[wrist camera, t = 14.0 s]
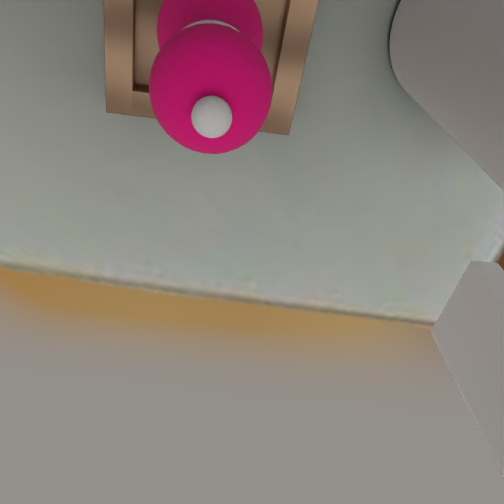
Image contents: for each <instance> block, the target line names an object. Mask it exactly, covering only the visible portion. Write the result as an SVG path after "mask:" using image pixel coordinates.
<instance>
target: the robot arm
mask: <svg viewBox="0 0 504 504" xmlns="http://www.w3.org/2000/svg"><path fill="white" fill-rule="evenodd" d="M431 334H432V337H433V338H434V340H435V342H436V344H437V346H438V348H439V350H440V352H441V354H442V356H443V358H444V360H445V362H446V364H447V366H448V368H449V370H450V372H451V374H452V376H453V378H454V380H455V382H456V384H457V386H458V388H459V390H460V392H461V394H462V396H463V398H464V400H465V402H466V404H467V406H468V408H469V410H470V412H471V414H472V416H473V418H474V420H475V422H476V424H477V426H478V427H479V430H480V432H481V434H482V436H483V438H484V440H485V442H486V444H487V446H488V448H489V450H490V452H491V454H492V455H493V458H494V460H495V462H496V463H497V465H498V467H499V469H500V471H501V473H502V475H503V477H504V271H503V269H502V268H501V267H500V266H499V264H498V263H493V262H481V261H471V262H470V264H469V265H468V267H467V269H466V271H465V272H464V274H463V276H462V278H461V279H460V281H459V283H458V285H457V287H456V288H455V290H454V292H453V294H452V295H451V297H450V299H449V301H448V302H447V304H446V306H445V308H444V309H443V311H442V313H441V315H440V316H439V318H438V320H437V322H436V324H435V325H434V327H433V329H432V331H431Z"/></svg>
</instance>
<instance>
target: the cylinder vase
mask: <svg viewBox="0 0 504 504" xmlns="http://www.w3.org/2000/svg"><path fill="white" fill-rule="evenodd" d="M390 59H391V64H392V68H393V71H394V73H395V76H396V78H397V80H398V82H399V83H400V85H401V86H402V87H403V89H404V90H405V91H406V92H407V93H408V94H409V95H410V96H411V97H412V98H413V99H414V100H415V101H416V102H417V103H418V104H419V105H420V106H421V107H422V108H423V109H424V110H425V111H426V112H427V113H428V114H429V116H430V117H431V118H432V119H433V120H434V121H435V122H436V123H437V124H438V125H439V126H440V127H441V128H442V129H443V130H444V131H445V132H446V133H447V134H448V135H449V136H450V137H451V138H452V139H453V140H454V141H455V142H456V143H457V144H458V145H459V146H460V147H461V148H462V149H463V150H464V151H465V152H466V153H467V154H468V155H469V156H470V157H471V158H472V159H473V160H474V161H475V162H476V163H477V164H478V165H479V166H480V167H481V168H482V169H483V170H484V171H485V172H486V173H487V175H488V176H489V177H490V178H491V179H492V180H493V181H494V182H495V183H496V184H497V185H498V186H499V187H500V188H501V189H502V190H503V191H504V0H401V2H400V4H399V6H398V8H397V11H396V14H395V16H394V20H393V23H392V28H391V33H390Z"/></svg>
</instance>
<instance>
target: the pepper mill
mask: <svg viewBox="0 0 504 504" xmlns="http://www.w3.org/2000/svg"><path fill="white" fill-rule="evenodd" d="M157 40H158V45H159V50H160V51H159V52H158V54H157V55H156V57H155V60H154V62H153V65H152V68H151V73H150V78H149V96H150V102H151V105H152V108H153V112H154V115H155V117H156V118H157V120H158V122H159V124H160V125H161V126H162V128H163V129H164V130H165V131H166V133H167V134H168V135H169V136H171V137H172V138H173V139H174V140H175V141H176V142H178V143H179V144H181V145H183V146H184V147H186V148H189V149H191V150H193V151H197V152H201V153H210V154H218V153H225V152H228V151H231V150H234V149H237V148H239V147H240V146H242V145H244V144H245V143H247V142H248V141H249V140H251V139H252V138H253V137H254V136H255V135H256V134H257V132H258V131H259V130H260V128H261V127H262V125H263V124H264V122H265V120H266V118H267V115H268V113H269V110H270V107H271V101H272V79H271V73H270V70H269V67H268V64H267V62H266V60H265V58H264V56H263V54H262V53H261V49H262V43H263V26H262V20H261V15H260V13H259V10H258V7H257V5H256V3H255V1H254V0H164V1H163V3H162V5H161V7H160V11H159V14H158V20H157Z"/></svg>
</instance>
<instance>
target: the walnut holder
mask: <svg viewBox="0 0 504 504" xmlns="http://www.w3.org/2000/svg"><path fill="white" fill-rule="evenodd" d="M163 1H164V0H104V39H105V79H106V112H108V113H116V114H124V115H132V116H140V117H148V118H156V117H155V115H154V112H153V108H152V105H151V102H150V96H149V78H150V73H151V68H152V65H153V62H154V60H155V57H156V55H157V54H158V52H159V51H160V50H159V45H158V40H157V20H158V14H159V11H160V7H161V5H162V3H163ZM254 1H255V3H256V5H257V7H258V10H259V13H260V15H261V20H262V26H263V43H262V49H261V53H262V54H263V56H264V58H265V60H266V62H267V64H268V67H269V70H270V73H271V79H272V101H271V107H270V110H269V113H268V115H267V118H266V120H265V122H264V124H263V125H262V127H261V128H260V130H259V132H267V133H275V134H283V135H289V131H290V127H291V122H292V118H293V113H294V109H295V104H296V100H297V95H298V91H299V86H300V82H301V77H302V73H303V69H304V64H305V60H306V55H307V51H308V46H309V42H310V37H311V33H312V28H313V24H314V19H315V15H316V10H317V6H318V1H319V0H254ZM156 119H157V118H156Z"/></svg>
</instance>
